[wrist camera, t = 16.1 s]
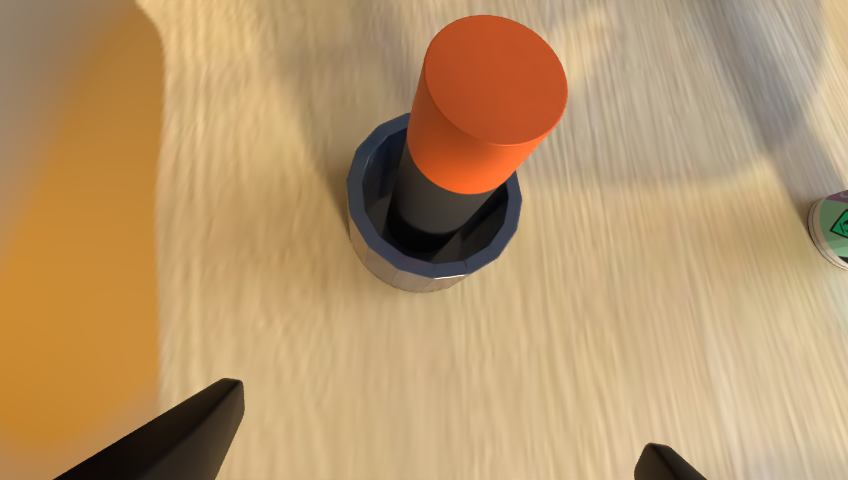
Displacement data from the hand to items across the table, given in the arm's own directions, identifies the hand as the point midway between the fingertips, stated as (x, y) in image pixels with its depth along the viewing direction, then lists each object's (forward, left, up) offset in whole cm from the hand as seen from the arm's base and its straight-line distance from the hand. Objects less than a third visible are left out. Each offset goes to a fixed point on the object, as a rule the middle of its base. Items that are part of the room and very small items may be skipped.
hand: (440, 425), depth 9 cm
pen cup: (+8, +4, -13) cm, 15 cm away
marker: (+8, +4, -12) cm, 15 cm away
